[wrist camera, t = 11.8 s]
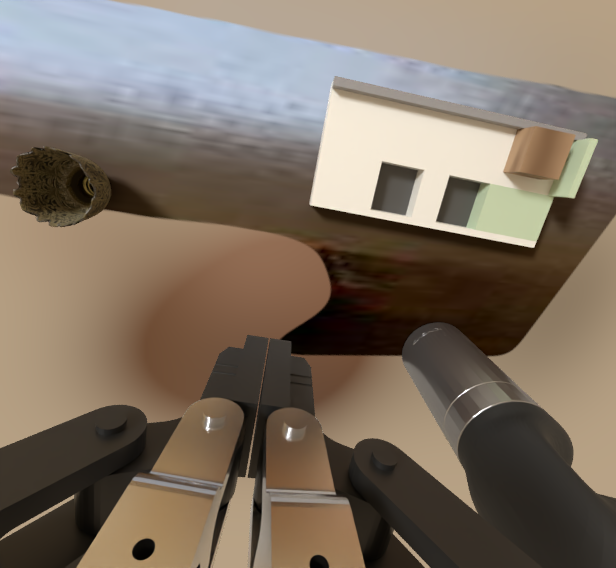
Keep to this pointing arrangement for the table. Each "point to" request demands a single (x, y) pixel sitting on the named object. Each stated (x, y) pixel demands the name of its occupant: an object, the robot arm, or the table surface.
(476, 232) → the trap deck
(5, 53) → the table surface
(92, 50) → the table surface
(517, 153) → the walnut block
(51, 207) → the cup
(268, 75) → the table surface
